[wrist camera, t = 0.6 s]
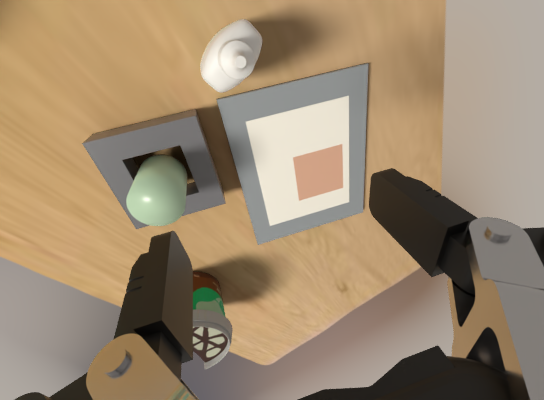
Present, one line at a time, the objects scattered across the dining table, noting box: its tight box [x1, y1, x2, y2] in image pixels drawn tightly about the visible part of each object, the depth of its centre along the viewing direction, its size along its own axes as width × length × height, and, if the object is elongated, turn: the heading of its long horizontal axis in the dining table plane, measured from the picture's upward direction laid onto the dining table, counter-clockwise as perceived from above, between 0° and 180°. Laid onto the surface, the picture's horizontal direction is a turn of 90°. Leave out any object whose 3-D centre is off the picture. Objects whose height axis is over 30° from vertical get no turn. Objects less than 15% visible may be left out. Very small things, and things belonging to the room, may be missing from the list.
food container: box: [193, 272, 232, 369], centre depth 39 cm, size 12×6×10 cm, turn 15°
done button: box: [126, 155, 187, 226], centre depth 26 cm, size 5×5×6 cm
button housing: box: [82, 109, 225, 229], centre depth 29 cm, size 11×11×3 cm
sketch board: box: [217, 63, 368, 245], centre depth 35 cm, size 22×18×1 cm
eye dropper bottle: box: [200, 19, 262, 92], centre depth 21 cm, size 4×6×12 cm
